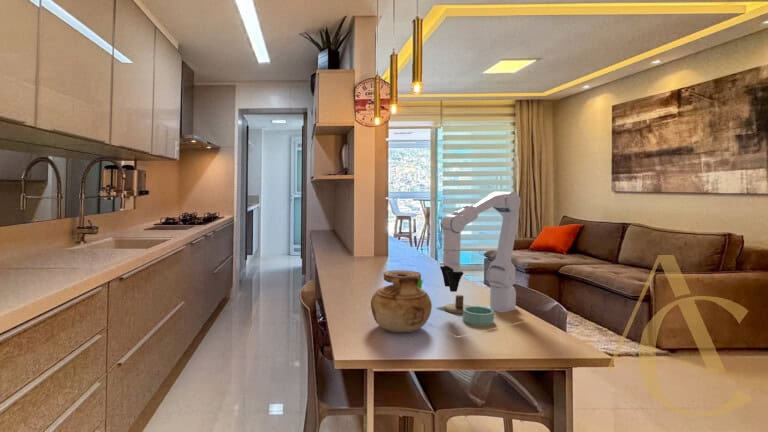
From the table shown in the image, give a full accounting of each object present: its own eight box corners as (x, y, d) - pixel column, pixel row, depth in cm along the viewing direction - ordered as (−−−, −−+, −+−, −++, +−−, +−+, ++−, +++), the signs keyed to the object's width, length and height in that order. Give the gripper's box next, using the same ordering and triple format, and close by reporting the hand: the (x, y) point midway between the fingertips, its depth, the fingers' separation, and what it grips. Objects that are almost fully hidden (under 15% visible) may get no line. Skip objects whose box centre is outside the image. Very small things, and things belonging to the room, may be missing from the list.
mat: (459, 304, 160) (459, 303, 160) (482, 312, 150) (482, 311, 150) (435, 309, 153) (435, 307, 153) (458, 317, 143) (458, 316, 143)
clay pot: (354, 314, 134) (378, 256, 136) (402, 330, 141) (423, 275, 143) (377, 332, 116) (403, 265, 118) (430, 349, 123) (454, 286, 125)
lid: (459, 304, 159) (459, 291, 159) (480, 311, 150) (481, 297, 150) (437, 308, 153) (438, 294, 153) (458, 315, 144) (459, 301, 144)
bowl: (477, 316, 145) (477, 304, 145) (499, 323, 137) (500, 311, 137) (456, 320, 140) (456, 308, 140) (478, 328, 132) (479, 316, 131)
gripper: (435, 246, 149) (434, 284, 150) (445, 252, 135) (444, 293, 135) (455, 247, 150) (453, 284, 151) (466, 252, 135) (465, 293, 136)
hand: (450, 288), depth 143 cm, fingers open, 7 cm apart
